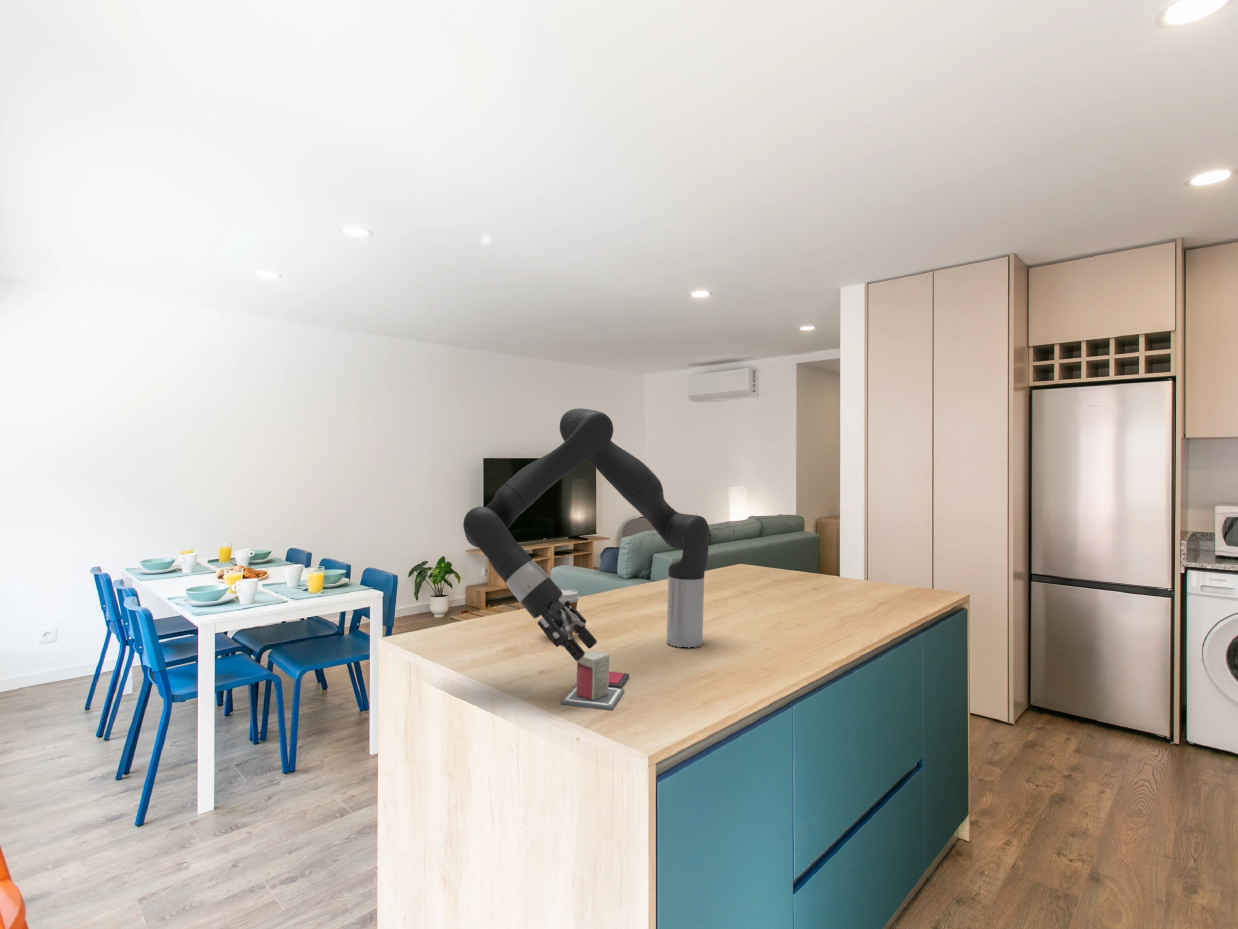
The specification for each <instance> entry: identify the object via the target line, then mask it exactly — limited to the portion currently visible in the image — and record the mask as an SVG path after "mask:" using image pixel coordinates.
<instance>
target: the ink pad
mask: <svg viewBox="0 0 1238 929" xmlns="http://www.w3.org/2000/svg"><path fill="white" fill-rule="evenodd" d="M629 678H630V673H629V672H628V673H627V672H617V671H611V670H609V685H608V687H611V688H620V689H623V687H624V685H625V684H626V682H627V681H628V679H629Z"/></svg>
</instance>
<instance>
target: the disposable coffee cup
mask: <svg viewBox="0 0 1238 929" xmlns="http://www.w3.org/2000/svg"><path fill="white" fill-rule="evenodd" d="M559 589H560V590H561V591H562V593H563V594H562V596H561V598H559V601H560V602H561V603H562V604H564V603H565V602H566V601H569V602H570V603H571V604H572V605H573V607H574V608H575V609H576V610H577V607H578V602H579V599H580V595H579V593H578V592H579V591H578V590H576V589H571V588H559ZM569 632H570V634H571V636H572V637H573V634H574V632H572V631H571V630H570V631H569ZM556 639H557V638H556Z"/></svg>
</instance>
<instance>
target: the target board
mask: <svg viewBox="0 0 1238 929" xmlns="http://www.w3.org/2000/svg"><path fill="white" fill-rule="evenodd" d="M576 692H577V683H576V684H575V685H574V686H572V688H571V689H570V690H569V692H568V693H567V694H566V695H565V696H564V697H563V698H562V699H561V700H560V705H565V706H574V707H579V708H580V707H581V708H589V709H598V710H607V711H613V710H614V708H615V707H616V705H617V704H618V702H619V701H620V699H621V697H622V696H623V695H624V693H625V688H621V689H620V688H611V687H608V694H606V695H604V696H601V697H599V698H597V699H594V700H590V699H587V698H584V697H581V696H578V695H577V694H576Z"/></svg>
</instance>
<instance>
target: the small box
mask: <svg viewBox="0 0 1238 929" xmlns="http://www.w3.org/2000/svg"><path fill="white" fill-rule="evenodd" d="M576 664H577V665H576V684H577V692H576V694H577V695H578V696H581V697H584V698H587V699H590V700H594V699H597V698H599V697H601V696H604V695H606V694H608V685H609V671H610V654H609V653H605V652H602V651H597V650H594V649H592V650H590V651H587V652H585V655H584V656H583V657H582V658H581V659H579V660H578V661H576Z"/></svg>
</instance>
